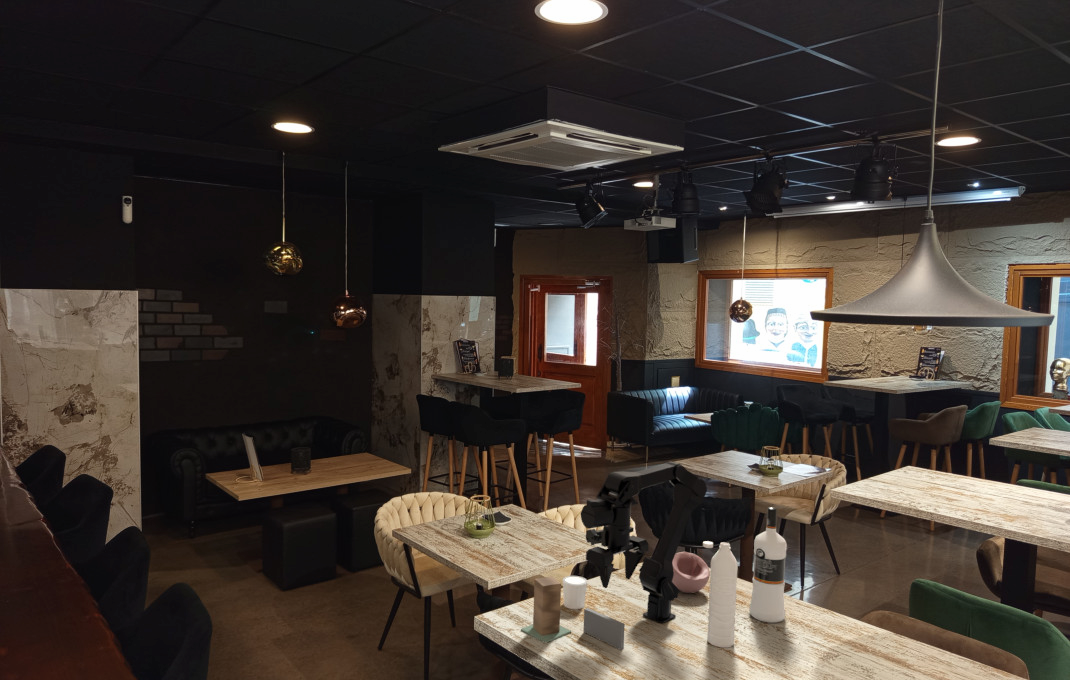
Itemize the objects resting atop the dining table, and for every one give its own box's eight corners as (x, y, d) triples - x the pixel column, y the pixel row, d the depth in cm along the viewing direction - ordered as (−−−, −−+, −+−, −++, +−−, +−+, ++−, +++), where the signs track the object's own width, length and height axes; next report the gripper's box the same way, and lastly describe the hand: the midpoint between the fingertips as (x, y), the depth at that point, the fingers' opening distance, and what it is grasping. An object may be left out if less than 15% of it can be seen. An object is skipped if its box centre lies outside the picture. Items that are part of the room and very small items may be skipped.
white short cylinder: (584, 611, 192) (585, 586, 192) (559, 608, 194) (560, 583, 193) (587, 601, 199) (588, 576, 199) (563, 598, 200) (564, 574, 200)
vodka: (792, 621, 190) (797, 510, 189) (764, 626, 187) (770, 513, 186) (768, 607, 199) (773, 501, 198) (741, 612, 195) (747, 504, 194)
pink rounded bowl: (682, 601, 201) (683, 562, 200) (659, 586, 212) (660, 548, 211) (717, 596, 205) (718, 557, 205) (692, 581, 216) (694, 544, 216)
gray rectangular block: (586, 630, 180) (587, 607, 180) (623, 648, 172) (624, 623, 172) (583, 632, 180) (584, 609, 179) (620, 649, 171) (621, 625, 171)
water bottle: (729, 636, 180) (734, 539, 179) (737, 648, 174) (742, 547, 173) (695, 635, 180) (699, 538, 179) (702, 647, 173) (706, 546, 172)
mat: (545, 620, 186) (546, 618, 186) (571, 632, 179) (571, 630, 179) (520, 630, 180) (520, 628, 180) (546, 643, 173) (546, 641, 173)
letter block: (551, 623, 183) (552, 576, 182) (560, 632, 178) (561, 583, 178) (532, 627, 181) (534, 578, 180) (541, 635, 176) (543, 586, 176)
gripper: (617, 509, 193) (615, 566, 194) (570, 522, 180) (568, 582, 181) (650, 519, 185) (648, 577, 186) (604, 532, 172) (602, 596, 173)
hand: (616, 583), depth 182 cm, fingers open, 9 cm apart
